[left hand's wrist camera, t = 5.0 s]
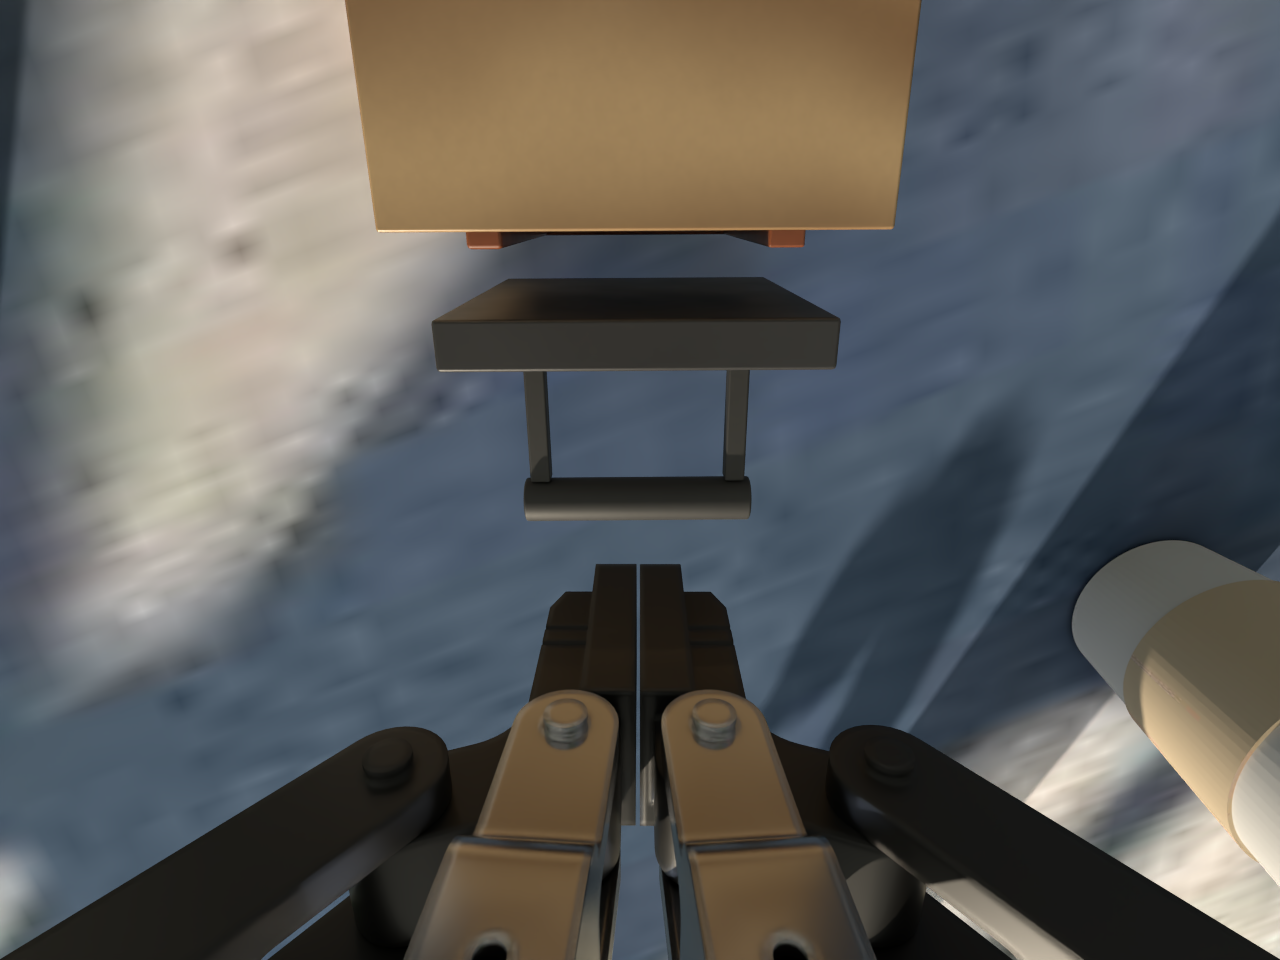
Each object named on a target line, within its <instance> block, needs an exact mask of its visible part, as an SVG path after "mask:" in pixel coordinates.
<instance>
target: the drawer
mask: <svg viewBox="0 0 1280 960" xmlns="http://www.w3.org/2000/svg"><path fill="white" fill-rule="evenodd" d="M805 231H806V230H685V231H526V232H466V239H467V246H468V248H470V249H501V248H504V247H507V246H511V245H514V244H517V243H521V242H524V241H527V240H531V239H534V238H538V237H541V236H544V235H663V234H726V235H730V236H733V237H737V238H740V239H744V240H747V241H751V242H754V243H758V244H761V245H765V246H768V247H803V246H804V244H805ZM840 323H841V321H840V318H838V317H836V316H834V315H833V314H831V313H829V312H827V311H825V310H823V309H821V308H820V307H818V306H816V305H814V304H812V303H810V302H808V301H807V300H805V299H803V298H801V297H799V296H797V295H795V294H794V293H792V292H790V291H788V290H786V289H784V288H782V287H780V286H779V285H777V284H775V283H773V282H771V281H769V280H767V279H766V278H764V277H717V278H564V279H507V280H506V281H504V282H502V283H500V284H498V285H497V286H495V287H493V288H491V289H489V290H488V291H486V292H484V293H482V294H480V295H479V296H477V297H475V298H473V299H471V300H470V301H468V302H466V303H464V304H462V305H461V306H459V307H457V308H455V309H453V310H452V311H450V312H448V313H446V314H444V315H443V316H441V317H439V318H437V319H435V320H434V321H432V333H433V341H434V350H435V359H436V368H437V370H438V371H439V372H523V373H524V387H525V402H526V417H527V432H528V446H529V461H530V476H531V478H527V479H526V482H525V487H524V512H525V517H526V519H527V520H528V521H574V520H700V519H748V518H749V516H750V512H751V485H750V480H749V478H748V477H747V476H744V469H745V450H746V431H747V412H748V393H749V374H750V370H816V369H834V368H835V367H836V364H837V354H838V344H839V333H840ZM674 370H727V376H726V400H725V425H724V450H723V476H705V477H575V478H551V477H552V461H551V443H550V425H549V407H548V389H547V371H674Z"/></svg>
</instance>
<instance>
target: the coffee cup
mask: <svg viewBox="0 0 1280 960" xmlns="http://www.w3.org/2000/svg"><path fill="white" fill-rule="evenodd" d="M1072 632H1073V637H1074V640H1075V643H1076V645H1077V647H1078V648H1079V650H1080V651H1081V653H1082V654H1083V655H1084V656H1085V657H1086V659H1087V660H1088V661H1089V662H1090V663H1091V665H1092V666H1093V667H1094V668H1095V669H1096V670H1097V672H1098V673H1099V674H1100V675H1101V676H1102V678H1103V679H1104V680H1105V681H1106V682H1107V683H1108V685H1109V686H1110V687H1111V688H1112V689H1113V691H1114V692H1115V693H1116V694H1117V695H1118V696H1119V698H1120V699H1121V700H1122V701H1123V702H1124V704H1125V705H1126V707H1127V710H1128V712H1129V714H1130V715H1131V717H1132V718H1133V720H1134V721H1135V722H1136V723H1137V725H1138V726H1139V727H1140V728H1141V729H1142V731H1143V732H1144V733H1145V734H1146V735H1147V736H1148V738H1149V739H1150V740H1151V741H1152V742H1153V744H1154V745H1155V746H1156V747H1157V748H1158V750H1159V751H1160V752H1161V753H1162V754H1163V756H1164V757H1165V758H1166V759H1167V760H1168V762H1169V763H1170V764H1171V765H1172V766H1173V768H1174V769H1175V770H1176V771H1177V772H1178V774H1179V775H1180V776H1181V777H1182V778H1183V779H1184V781H1185V782H1186V783H1187V784H1188V785H1189V787H1190V788H1191V789H1192V790H1193V791H1194V793H1195V794H1196V795H1197V796H1198V797H1199V799H1200V800H1201V801H1202V802H1203V803H1204V805H1205V806H1206V807H1207V808H1208V809H1209V811H1210V812H1211V813H1212V814H1213V815H1214V817H1215V818H1216V819H1217V820H1218V821H1219V822H1220V824H1221V825H1222V826H1223V827H1224V828H1225V830H1226V831H1227V832H1228V833H1229V834H1230V836H1231V837H1232V838H1233V839H1234V840H1235V842H1236V843H1237V844H1238V845H1239V846H1240V848H1241V849H1242V850H1243V851H1244V852H1245V853H1246V854H1247V855H1248V856H1250V857H1251V858H1252V859H1254V860H1255V861H1257V862H1258V863H1260V864H1261V865H1262V866H1263V868H1264V869H1265V870H1266V871H1267V872H1268V874H1269V875H1270V876H1271V877H1272V878H1273V879H1274V881H1275V882H1276V883H1277V884H1278V885H1279V887H1280V582H1278V581H1273V580H1271V579H1269V578H1267V577H1265V576H1263V575H1261V574H1259V573H1256V572H1254V571H1252V570H1250V569H1248V568H1246V567H1244V566H1242V565H1240V564H1238V563H1236V562H1234V561H1232V560H1230V559H1228V558H1226V557H1224V556H1222V555H1220V554H1217V553H1215V552H1213V551H1211V550H1209V549H1207V548H1205V547H1203V546H1201V545H1198V544H1195V543H1192V542H1187V541H1179V540H1168V541H1159V542H1153V543H1149V544H1145V545H1142V546H1139V547H1137V548H1134V549H1132V550H1130V551H1127V552H1125V553H1124V554H1122V555H1120V556H1118V557H1117V558H1115V559H1113V560H1112V561H1111V562H1109V563H1108V564H1107V565H1105V566H1104V567H1103V568H1102V569H1101V570H1100V571H1098V572H1097V573H1096V574H1095V575H1094V576H1093V578H1092V579H1091V580H1090V581H1089V582H1088V584H1087V585H1086V586H1085V588H1084V589H1083V591H1082V593H1081V594H1080V596H1079V598H1078V600H1077V603H1076V605H1075V608H1074V612H1073V617H1072Z"/></svg>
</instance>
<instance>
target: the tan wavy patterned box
mask: <svg viewBox="0 0 1280 960" xmlns="http://www.w3.org/2000/svg"><path fill="white" fill-rule="evenodd" d="M921 1H922V0H345V4H346V11H347V19H348V26H349V33H350V41H351V48H352V55H353V63H354V70H355V77H356V85H357V92H358V99H359V107H360V114H361V121H362V129H363V136H364V144H365V151H366V158H367V166H368V173H369V180H370V188H371V195H372V202H373V210H374V217H375V224H376V230H377V231H378V232H526V231H685V230H844V229H892V228H894V225H895V217H896V208H897V200H898V192H899V183H900V175H901V167H902V158H903V150H904V142H905V133H906V125H907V117H908V109H909V100H910V92H911V84H912V75H913V67H914V59H915V50H916V42H917V34H918V25H919V17H920V9H921Z"/></svg>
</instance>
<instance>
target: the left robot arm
mask: <svg viewBox="0 0 1280 960" xmlns="http://www.w3.org/2000/svg"><path fill="white" fill-rule="evenodd" d="M636 684H637V576H636V564H596V568H595V576H594V584H593V592H565V593H564V594H563V595H562V596H561V597H560V598H559V599H558V600H557V601H556V602H555V603H554V604H553V605H552V606H551V607H550V611H549V615H548V620H547V624H546V630H545V633H544V637H543V645H542V646H541V651H540V655H539V659H538V664H537V668H536V673H535V677H534V681H533V686H532V690H531V694H530V699H529V703H527V704H526V705H525V706H524V707H523V708H522V709H521V710H520V711H519V713H518V714H517V716H516V718H515V720H514V722H513V725H512V727H511V728H509V729H508V730H506V731H505V732H504V733H502V734H500V735H498V736H496V737H494V738H492V739H489V740H487V741H484V742H480V743H477V744H473V745H469V746H465V747H461V748H457V749H453V750H447V747H446V744H445V743H444V741H443V740H442V739H441V738H440V737H439V736H438V735H437V734H435V733H433V732H431V731H429V730H426V729H423V728H418V727H395V728H390V729H385V730H382V731H378V732H375V733H373V734H370V735H368V736H366V737H364V738H362V739H360V740H358V741H357V742H355V743H353V744H352V745H350V746H349V747H347V748H345V749H344V750H342V751H340V752H339V753H337V754H335V755H334V756H332V757H331V758H329V759H327V760H326V761H324V762H322V763H321V764H319V765H317V766H316V767H314V768H312V769H311V770H309V771H308V772H306V773H304V774H303V775H301V776H299V777H298V778H296V779H294V780H293V781H291V782H290V783H288V784H286V785H285V786H283V787H281V788H280V789H278V790H276V791H275V792H273V793H272V794H270V795H268V796H267V797H265V798H263V799H262V800H260V801H258V802H257V803H255V804H254V805H252V806H250V807H249V808H247V809H245V810H244V811H242V812H240V813H239V814H237V815H236V816H234V817H232V818H231V819H229V820H227V821H226V822H224V823H222V824H221V825H219V826H218V827H216V828H214V829H213V830H211V831H209V832H208V833H206V834H204V835H203V836H201V837H200V838H198V839H196V840H195V841H193V842H191V843H190V844H188V845H186V846H185V847H183V848H182V849H180V850H178V851H177V852H175V853H173V854H172V855H170V856H168V857H167V858H165V859H164V860H162V861H160V862H159V863H157V864H155V865H154V866H152V867H150V868H149V869H147V870H146V871H144V872H142V873H141V874H139V875H137V876H136V877H134V878H132V879H131V880H129V881H128V882H126V883H124V884H123V885H121V886H119V887H118V888H116V889H114V890H113V891H111V892H109V893H108V894H106V895H105V896H103V897H101V898H100V899H98V900H96V901H95V902H93V903H91V904H90V905H88V906H87V907H85V908H83V909H82V910H80V911H78V912H77V913H75V914H73V915H72V916H70V917H69V918H67V919H65V920H64V921H62V922H60V923H59V924H57V925H55V926H54V927H52V928H51V929H49V930H47V931H46V932H44V933H42V934H41V935H39V936H37V937H36V938H34V939H33V940H31V941H29V942H28V943H26V944H24V945H23V946H21V947H19V948H18V949H16V950H15V951H13V952H11V953H10V954H8V955H6V956H5V957H3V958H1V959H0V960H261V959H262V958H263V957H264V956H265V955H266V954H267V953H268V952H269V951H270V950H272V949H273V948H274V947H275V946H277V945H278V944H279V943H280V942H282V941H283V940H284V939H286V938H287V937H288V936H290V935H291V934H292V933H293V932H295V931H296V930H297V929H299V928H300V927H301V926H302V925H304V924H305V923H306V922H308V921H309V920H310V919H311V918H313V917H314V916H315V915H317V914H318V913H319V912H320V911H322V910H323V909H324V908H326V907H327V906H328V905H330V904H331V903H332V902H333V901H335V900H336V899H337V898H339V897H340V896H341V895H342V894H344V893H345V892H346V891H348V890H349V893H350V896H348V897H347V898H346V899H345V900H343V901H342V902H341V903H339V904H338V905H337V906H336V907H334V908H333V909H332V910H330V911H329V912H328V913H327V914H325V915H324V916H323V917H322V918H320V919H319V920H318V921H316V922H315V923H314V924H313V925H311V926H310V927H309V928H307V929H306V930H305V931H304V932H302V933H301V934H300V935H299V936H297V937H296V938H295V939H293V940H292V941H291V942H290V943H288V944H287V945H286V946H284V947H283V948H282V949H281V950H279V951H278V952H277V953H276V954H274V955H273V956H272V957H270V958H269V959H268V960H612V952H613V943H614V934H615V926H616V917H617V908H618V899H619V890H620V881H621V856H620V846H621V825H635V817H636ZM640 826H654V838H655V854H656V858H657V861H658V863H659V881H660V890H661V899H662V908H663V917H664V926H665V934H666V943H667V952H668V960H1012V959H1011V958H1010V957H1008V956H1007V955H1006V954H1004V953H1003V952H1002V951H1001V950H999V949H998V948H997V947H996V946H994V945H993V944H992V943H990V942H989V941H988V940H987V939H985V938H984V937H983V936H981V935H980V934H979V933H978V932H976V931H975V930H974V929H973V928H971V927H970V926H969V925H967V924H966V923H965V922H964V921H962V920H961V919H960V918H958V917H957V916H956V915H955V914H953V913H952V912H951V911H950V910H948V909H947V908H946V907H944V906H943V905H942V904H941V903H939V902H938V901H937V900H935V899H934V898H933V897H932V896H930V895H929V894H928V893H927V892H926V887H929V888H930V889H931V890H932V891H934V892H935V893H936V894H938V895H939V896H940V897H941V898H943V899H944V900H945V901H947V902H948V903H949V904H950V905H952V906H953V907H954V908H956V909H957V910H958V911H959V912H961V913H962V914H963V915H965V916H966V917H967V918H969V919H970V920H971V921H972V922H974V923H975V924H976V925H978V926H979V927H980V928H981V929H983V930H984V931H985V932H987V933H988V934H989V935H990V936H992V937H993V938H994V939H996V940H997V941H998V942H999V943H1001V944H1002V945H1003V946H1004V947H1006V948H1007V949H1008V950H1009V951H1010V952H1011V953H1012V954H1013V955H1014V956H1015V957H1016V958H1017V959H1018V960H1280V959H1279V958H1277V957H1275V956H1274V955H1272V954H1270V953H1269V952H1267V951H1265V950H1264V949H1262V948H1261V947H1259V946H1257V945H1256V944H1254V943H1252V942H1251V941H1249V940H1247V939H1246V938H1244V937H1243V936H1241V935H1239V934H1238V933H1236V932H1234V931H1233V930H1231V929H1229V928H1228V927H1226V926H1225V925H1223V924H1221V923H1220V922H1218V921H1216V920H1215V919H1213V918H1211V917H1210V916H1208V915H1206V914H1205V913H1203V912H1202V911H1200V910H1198V909H1197V908H1195V907H1193V906H1192V905H1190V904H1188V903H1187V902H1185V901H1184V900H1182V899H1180V898H1179V897H1177V896H1175V895H1174V894H1172V893H1170V892H1169V891H1167V890H1166V889H1164V888H1162V887H1161V886H1159V885H1157V884H1156V883H1154V882H1152V881H1151V880H1149V879H1148V878H1146V877H1144V876H1143V875H1141V874H1139V873H1138V872H1136V871H1134V870H1133V869H1131V868H1130V867H1128V866H1126V865H1125V864H1123V863H1121V862H1120V861H1118V860H1116V859H1115V858H1113V857H1112V856H1110V855H1108V854H1107V853H1105V852H1103V851H1102V850H1100V849H1098V848H1097V847H1095V846H1094V845H1092V844H1090V843H1089V842H1087V841H1085V840H1084V839H1082V838H1080V837H1079V836H1077V835H1076V834H1074V833H1072V832H1071V831H1069V830H1067V829H1066V828H1064V827H1062V826H1061V825H1059V824H1058V823H1056V822H1054V821H1053V820H1051V819H1049V818H1048V817H1046V816H1044V815H1043V814H1041V813H1040V812H1038V811H1036V810H1035V809H1033V808H1031V807H1030V806H1028V805H1026V804H1025V803H1023V802H1022V801H1020V800H1018V799H1017V798H1015V797H1013V796H1012V795H1010V794H1008V793H1007V792H1005V791H1003V790H1002V789H1000V788H999V787H997V786H995V785H994V784H992V783H990V782H989V781H987V780H985V779H984V778H982V777H981V776H979V775H977V774H976V773H974V772H972V771H971V770H969V769H967V768H966V767H964V766H963V765H961V764H959V763H958V762H956V761H954V760H953V759H951V758H949V757H948V756H946V755H945V754H943V753H941V752H940V751H938V750H936V749H935V748H933V747H931V746H930V745H928V744H927V743H925V742H923V741H922V740H920V739H918V738H916V737H914V736H913V735H911V734H908V733H906V732H904V731H901V730H898V729H894V728H891V727H886V726H879V725H862V726H856V727H852V728H849V729H847V730H845V731H843V732H841V733H840V734H839V735H838V736H837V737H835V739H834V740H833V742H832V744H831V747H830V751H825V750H821V749H817V748H813V747H809V746H805V745H801V744H797V743H794V742H790V741H788V740H785V739H783V738H780V737H779V736H777V735H775V734H773V733H771V732H770V730H769V728H768V725H767V722H766V720H765V718H764V716H763V714H762V713H761V711H760V710H759V709H758V708H757V707H756V706H755V705H754V704H753V703H751V702H750V701H748V700H747V699H746V697H745V692H744V688H743V683H742V679H741V674H740V669H739V665H738V660H737V656H736V651H735V647H734V645H733V637H732V633H731V630H730V624H729V619H728V615H727V610H726V607H725V606H724V605H723V604H722V603H721V602H720V601H719V600H718V599H717V598H716V597H715V596H714V595H713V594H712V593H711V592H684V590H683V582H682V573H681V565H680V564H640Z"/></svg>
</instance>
